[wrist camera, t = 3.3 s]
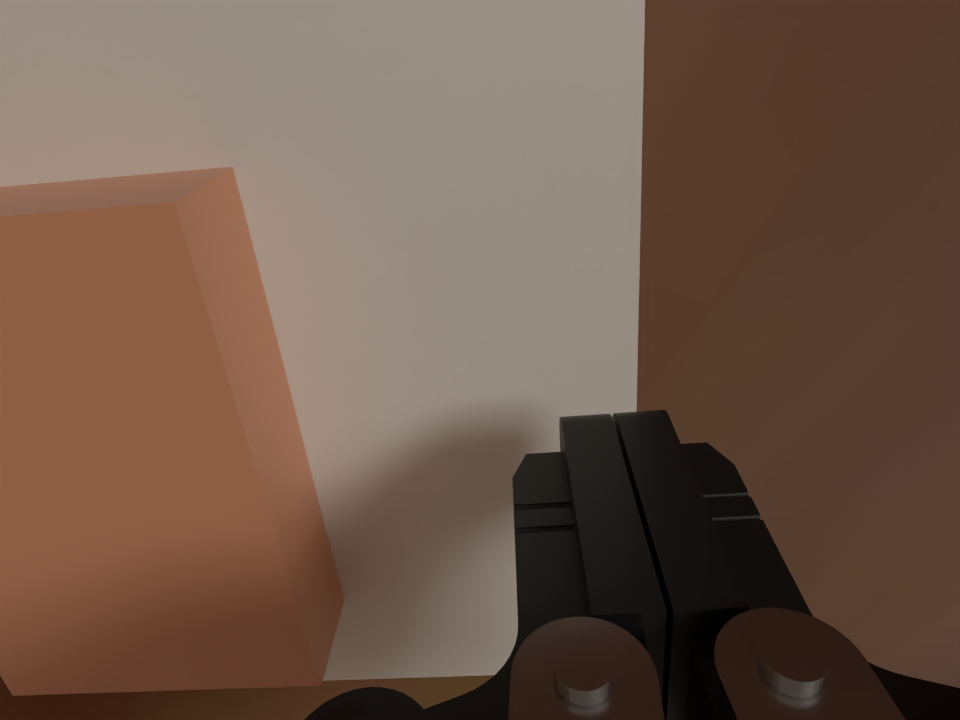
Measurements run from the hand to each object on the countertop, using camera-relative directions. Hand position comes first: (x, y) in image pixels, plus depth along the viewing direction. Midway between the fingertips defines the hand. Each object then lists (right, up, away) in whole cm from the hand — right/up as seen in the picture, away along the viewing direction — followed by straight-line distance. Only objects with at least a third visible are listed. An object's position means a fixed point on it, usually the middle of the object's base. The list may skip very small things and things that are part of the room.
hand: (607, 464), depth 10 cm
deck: (-6, +2, +6) cm, 9 cm away
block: (-8, 0, +2) cm, 8 cm away
